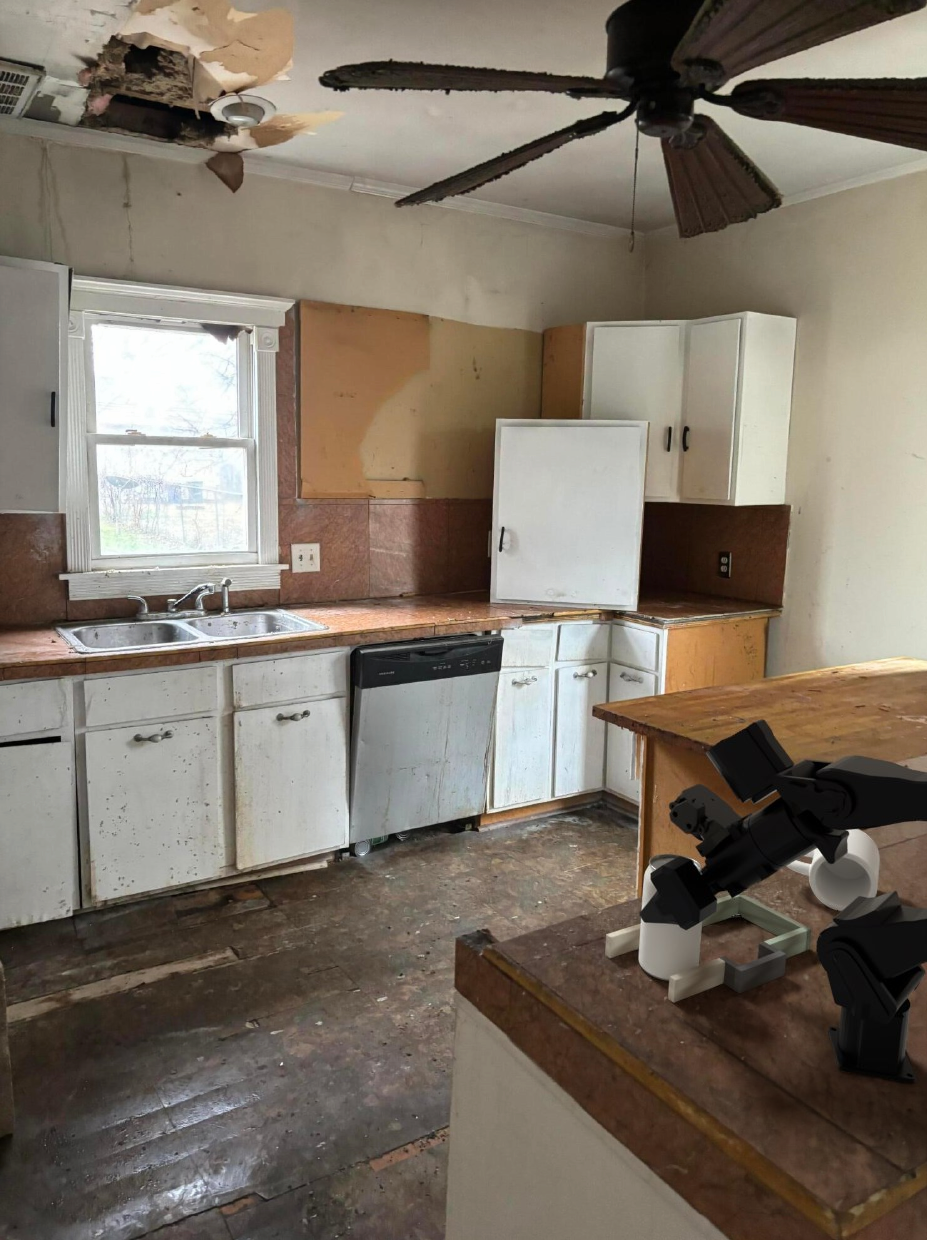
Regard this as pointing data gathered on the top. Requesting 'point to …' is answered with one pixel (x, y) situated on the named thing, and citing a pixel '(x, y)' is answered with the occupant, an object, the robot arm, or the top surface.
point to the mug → (843, 872)
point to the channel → (724, 970)
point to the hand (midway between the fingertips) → (665, 904)
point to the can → (666, 935)
